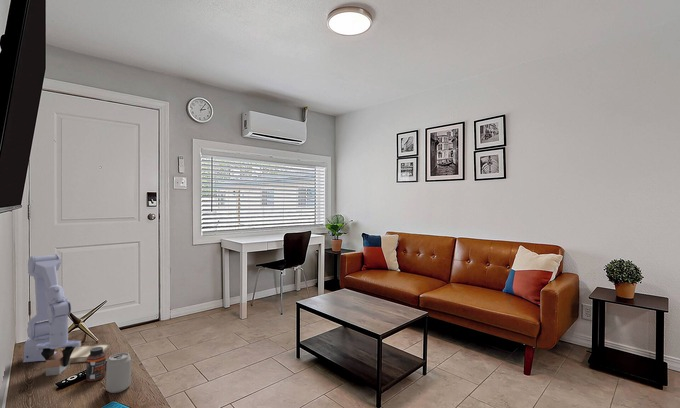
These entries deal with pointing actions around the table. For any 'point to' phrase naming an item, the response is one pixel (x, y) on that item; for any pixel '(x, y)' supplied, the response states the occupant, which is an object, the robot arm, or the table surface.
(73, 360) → the stand board
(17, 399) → the table surface
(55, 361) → the housing
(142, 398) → the table surface
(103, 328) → the table surface
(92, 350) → the supplement bottle
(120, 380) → the can
